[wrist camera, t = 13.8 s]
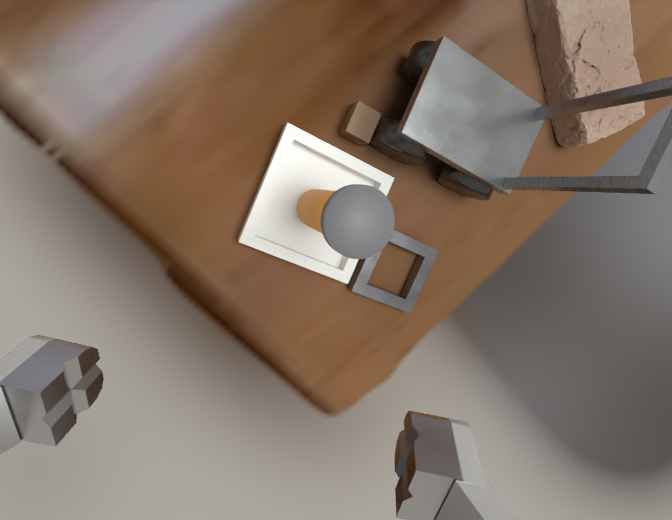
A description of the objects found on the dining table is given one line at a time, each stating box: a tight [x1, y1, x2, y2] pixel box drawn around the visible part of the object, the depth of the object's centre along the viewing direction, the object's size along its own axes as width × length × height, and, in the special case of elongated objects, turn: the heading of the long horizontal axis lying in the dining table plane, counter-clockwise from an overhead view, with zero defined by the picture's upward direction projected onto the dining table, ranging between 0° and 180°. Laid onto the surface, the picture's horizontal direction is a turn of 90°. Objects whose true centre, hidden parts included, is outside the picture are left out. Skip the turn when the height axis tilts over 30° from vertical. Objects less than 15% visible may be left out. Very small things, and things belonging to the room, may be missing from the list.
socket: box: [347, 230, 439, 313], centre depth 39 cm, size 7×7×2 cm
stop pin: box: [297, 184, 395, 259], centre depth 30 cm, size 5×5×12 cm
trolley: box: [371, 36, 672, 200], centre depth 29 cm, size 13×9×19 cm
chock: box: [338, 101, 381, 146], centre depth 34 cm, size 2×3×2 cm
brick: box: [526, 0, 645, 147], centre depth 39 cm, size 17×8×5 cm, turn 23°
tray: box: [238, 123, 394, 284], centre depth 35 cm, size 11×11×2 cm
